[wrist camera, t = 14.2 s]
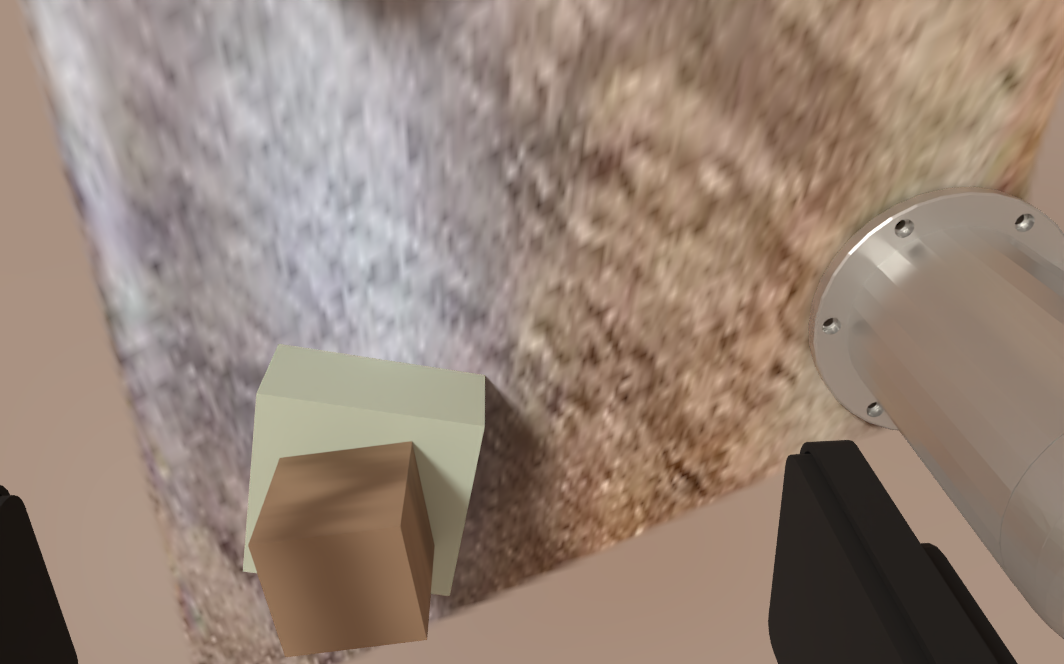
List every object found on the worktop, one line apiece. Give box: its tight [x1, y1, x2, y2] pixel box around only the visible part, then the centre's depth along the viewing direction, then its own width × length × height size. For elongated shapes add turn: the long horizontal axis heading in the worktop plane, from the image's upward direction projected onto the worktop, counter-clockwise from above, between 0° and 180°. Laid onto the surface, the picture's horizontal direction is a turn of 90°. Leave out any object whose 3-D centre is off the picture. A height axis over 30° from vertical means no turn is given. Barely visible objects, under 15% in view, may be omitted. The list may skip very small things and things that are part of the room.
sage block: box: [243, 344, 485, 596], centre depth 44 cm, size 10×10×5 cm
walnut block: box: [248, 441, 435, 657], centre depth 40 cm, size 6×6×6 cm
